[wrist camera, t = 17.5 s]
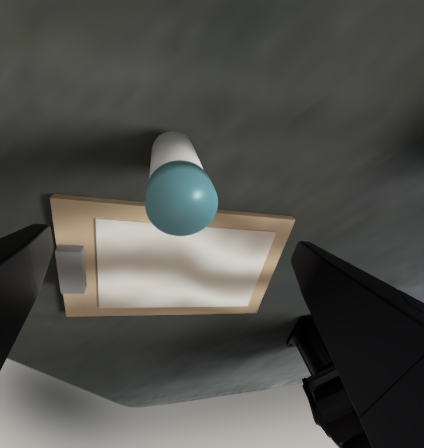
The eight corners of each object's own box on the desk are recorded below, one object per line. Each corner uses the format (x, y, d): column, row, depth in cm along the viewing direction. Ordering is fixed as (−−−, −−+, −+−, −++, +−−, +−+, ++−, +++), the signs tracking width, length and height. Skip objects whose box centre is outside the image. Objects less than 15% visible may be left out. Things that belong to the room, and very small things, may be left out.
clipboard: (254, 308, 33) (258, 319, 31) (68, 310, 27) (63, 324, 25) (291, 216, 26) (300, 225, 24) (53, 193, 20) (44, 203, 19)
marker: (189, 171, 21) (210, 238, 13) (149, 166, 20) (142, 233, 12) (196, 130, 20) (225, 176, 11) (152, 122, 19) (148, 166, 10)
